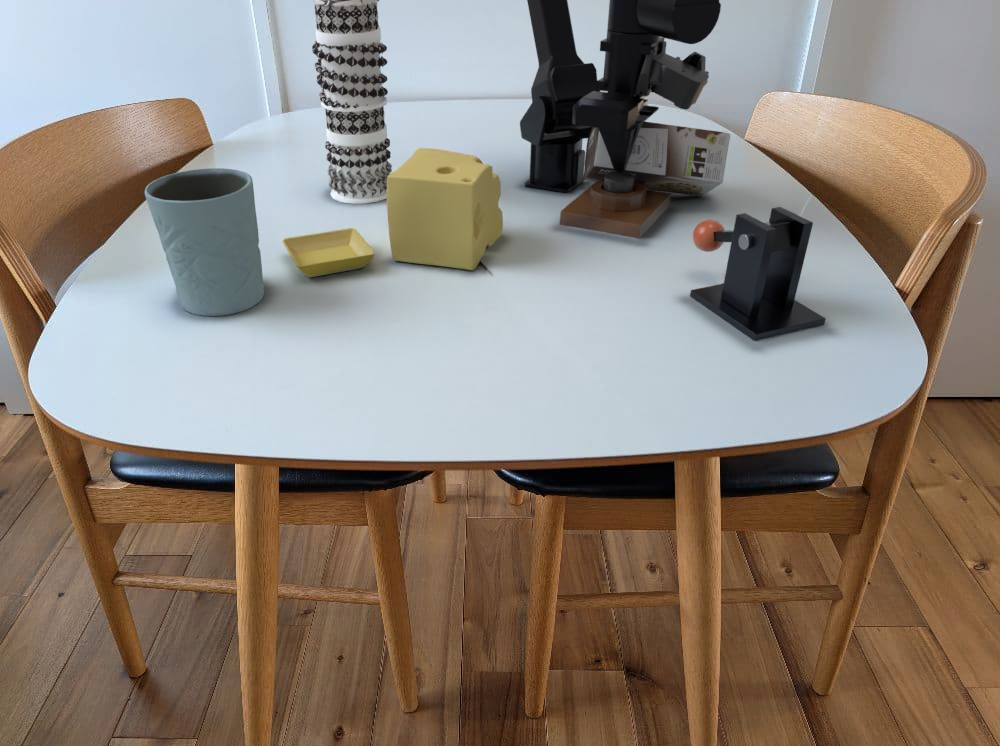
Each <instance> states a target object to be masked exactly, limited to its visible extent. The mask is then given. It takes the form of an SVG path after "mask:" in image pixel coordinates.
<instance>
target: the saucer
mask: <svg viewBox="0 0 1000 746" xmlns="http://www.w3.org/2000/svg"><path fill="white" fill-rule="evenodd" d="M281 242H282V244H283V245H284V247H285V249H286V251H287V253H288V254H289V255H290V257H291V259H292V261H293V262H294V264H295V266H296V267H297V268H298V270H299V271H300V272H301V273H302V274H303V275H304V276H307V277H309V278H315V277H320V276H321V277H322V276H326V275H331V274H335V273H336V274H337V273H343V272H347V271H354V270H359V269H362V268H364V267H365V266H367V265H368V264H369V263H370V262H371V260H372V259H373V258H374V256H375V255H376V253H375V251H374V250H373V248H372V247H371V245H369V243H368V242H367V241H366V240H365V239H364V237H363V236H362V235H361V234H360V232H359V231H358V230H357V229H356V228H354V227H350V228H344V229H336V230H330V231H323V232H319V233H312V234H305V235H298V236H292V237H286V238H283V239H282V241H281Z"/></svg>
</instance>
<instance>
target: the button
mask: <svg viewBox="0 0 1000 746" xmlns="http://www.w3.org/2000/svg"><path fill="white" fill-rule="evenodd" d="M634 179H635V177H634V176H633V175H631V174H628V173H622V172H613V173H608V174H606V175H605V176H604V187H603V190H604V191H606V192H610V193H616V194H619V193H630V192H633V189H634Z"/></svg>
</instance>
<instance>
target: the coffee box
mask: <svg viewBox="0 0 1000 746" xmlns="http://www.w3.org/2000/svg"><path fill="white" fill-rule="evenodd" d="M730 140H731V133H730V132H725V131H719V130H718V131H717V130H709V129H704V128H696V127H689V126H682V125H681V126H680V125H675V124H674V125H673V124H665V123H659V122H652V121H651V122H650V121H644V122H643V124H642V126H641V128H640V131H639V133H638V136H637V139H636V141H635V144H634V147H633V150H632V153H631V155H630V158H629V161H628V164H627V167H626V169H625V170H624V171H623V172H622V173H628V174H631V175H633V176H634V177H635V179H634V181H635V182H637V183H640V184H642V185H644V187H645V188H646V190H652V191H659V192H666V193H671V194H677V195H686V196H694V197H703V196H705V195H706V194H708V193H709V192H711V191H713V190H714V189H716V188H717V187H719V186H720V185H722V184H723V183H724V177H725V170H726V164H727V157H728V151H729V146H730ZM586 141H587V142H586V148H585V163H584V177H583V181H582V182H583V183H590V184H594V183H595V182H597V181H601V180H604V176H605V175H606V174H608V173H613V172H616V171H615V170H614V168H613V165H612V163H611V160H610V157H609V154H608V152H607V149H606V146H605V144H604V141H603V139H602V136H601V134H600V132H599V129H598V128H596V127H593V128H592V130H591V132H590V133H589V135H588V138H587V140H586Z"/></svg>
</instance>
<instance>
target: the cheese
mask: <svg viewBox="0 0 1000 746" xmlns="http://www.w3.org/2000/svg"><path fill="white" fill-rule="evenodd" d="M501 190H502V187H501V179H500V176H499V174H497V173H494V172H493V166H492V165H490V164H486V163H483V161H482V159H480V158H479V157H478V156H476V155H473V154H472V155H471V154H467V153H461V152H456V151H450V150H445V149H439V148H429V147H427V148H425V147H420V148H417V149H416V150H415V151H414V153H412V155H411V156H410V157H409V158H408V159H407V160H406V161H405V162H404V163H403V164H402V165H400V166H399V167H398V168H397V169H395V170H394V171H392V172H391V173H390V175H388V177H387V198H386V210H387V211H386V212H387V226H388V237H389V244H390V245H389V246H390V250H391V256H392V260H393V261H394V262H395V261H396V262H403V263H411V264H420V265H428V266H437V267H445V268H453V269H460V270H468V271H474V270H476V268H477V267H478V265H479V264H480V263H481V260H482V258H484V257H483V256H484V255H485V254H486V249H487V247H491V246H493V245H494V243H496V242H497V240H498V239H499V238H501V236H502V234H503V228H504V217H503V211H502V209H501V208H500V207H499V201H500V198H501V192H502V191H501Z"/></svg>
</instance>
